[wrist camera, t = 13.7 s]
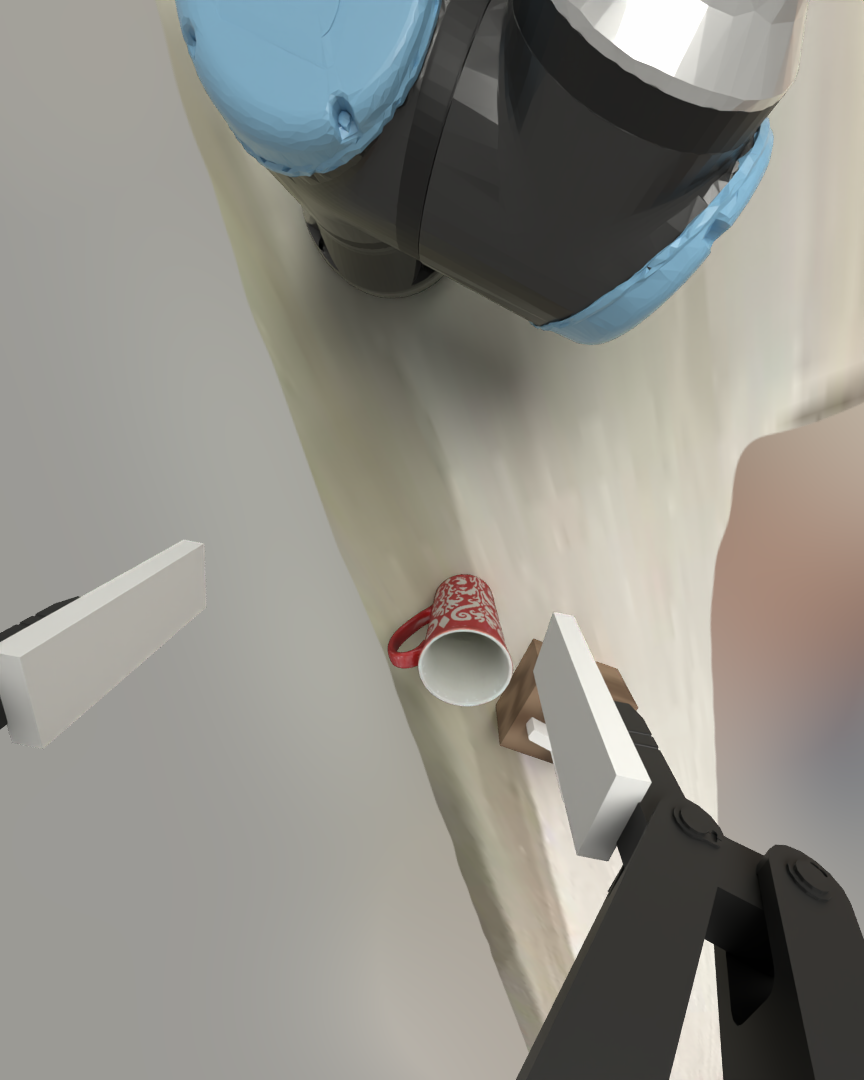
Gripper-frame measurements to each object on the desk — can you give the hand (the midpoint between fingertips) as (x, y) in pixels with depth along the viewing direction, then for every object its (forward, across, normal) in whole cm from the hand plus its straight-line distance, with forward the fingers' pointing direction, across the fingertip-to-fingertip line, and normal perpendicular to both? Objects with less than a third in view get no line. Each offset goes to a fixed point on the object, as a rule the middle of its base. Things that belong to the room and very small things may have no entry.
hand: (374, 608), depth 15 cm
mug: (+32, +5, -17) cm, 37 cm away
